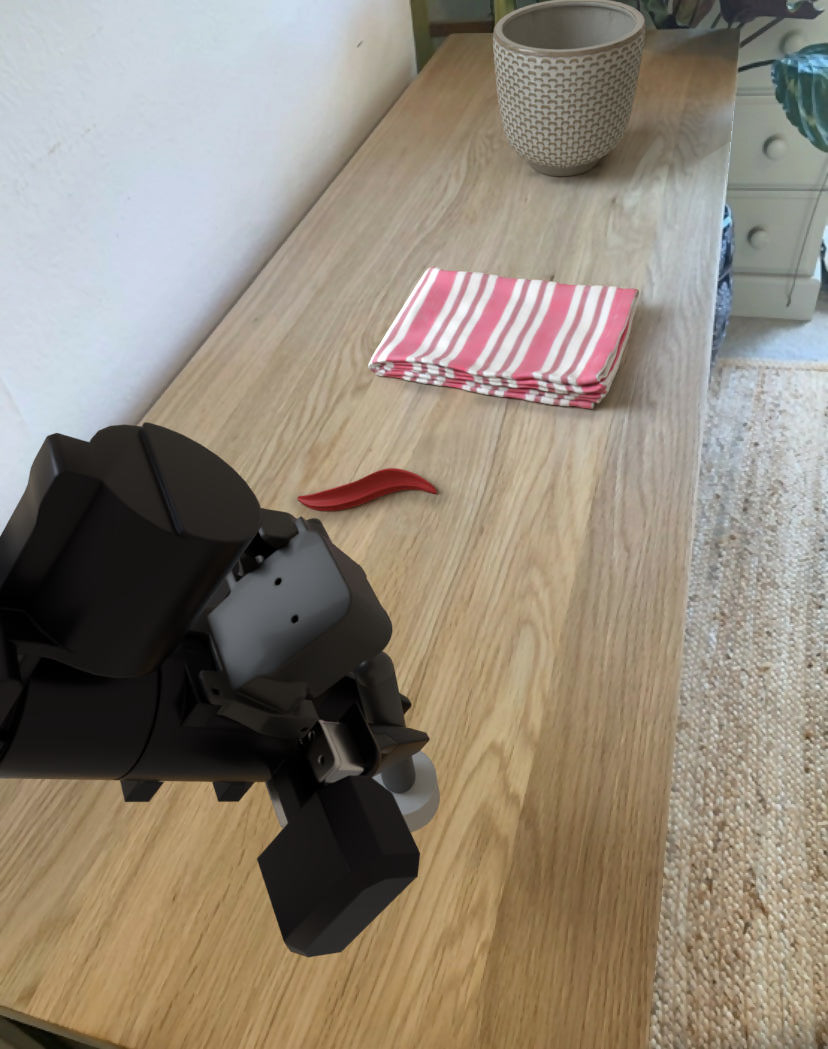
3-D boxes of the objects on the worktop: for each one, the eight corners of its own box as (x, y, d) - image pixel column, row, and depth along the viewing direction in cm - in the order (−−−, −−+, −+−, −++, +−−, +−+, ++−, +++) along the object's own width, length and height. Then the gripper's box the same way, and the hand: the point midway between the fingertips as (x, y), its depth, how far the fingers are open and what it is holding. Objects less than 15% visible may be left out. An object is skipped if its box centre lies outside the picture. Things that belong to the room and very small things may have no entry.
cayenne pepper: (440, 474, 73) (438, 458, 72) (434, 514, 70) (432, 498, 69) (305, 471, 75) (300, 455, 74) (293, 510, 72) (288, 494, 71)
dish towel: (605, 414, 76) (608, 384, 74) (366, 377, 83) (361, 348, 81) (640, 307, 87) (643, 276, 84) (424, 281, 94) (421, 252, 91)
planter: (510, 129, 117) (508, -2, 105) (639, 132, 112) (653, -4, 101) (482, 191, 106) (477, 52, 94) (624, 197, 102) (638, 52, 90)
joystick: (367, 835, 46) (322, 701, 36) (369, 766, 49) (328, 623, 39) (440, 832, 46) (417, 696, 36) (439, 763, 49) (416, 618, 38)
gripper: (321, 777, 23) (630, 784, 34) (166, 395, 35) (430, 488, 46) (134, 992, 27) (461, 939, 38) (52, 585, 39) (318, 630, 50)
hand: (414, 725), depth 43 cm, fingers closed on joystick, 2 cm apart
